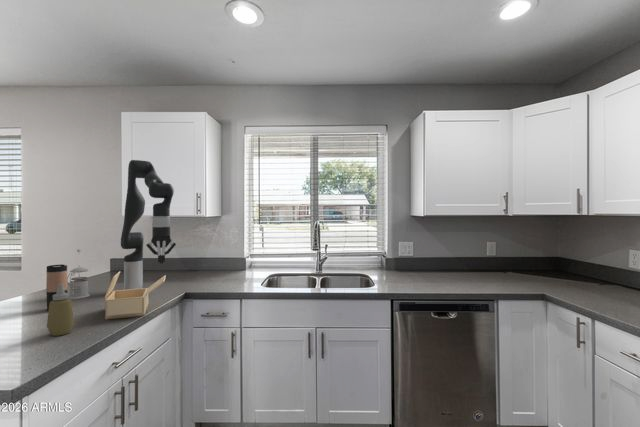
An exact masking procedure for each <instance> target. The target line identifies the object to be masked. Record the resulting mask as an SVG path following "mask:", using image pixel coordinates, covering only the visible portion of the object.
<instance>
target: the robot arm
mask: <svg viewBox="0 0 640 427" xmlns="http://www.w3.org/2000/svg"><path fill="white" fill-rule="evenodd" d="M127 169H128V170H127V189H126V191H127V192H126V198H125V203H124V205H125V206H124V218H123V226H122V230H121V237H120V248H121V249H123V250H133V249H134V251H133V252H132V253H128V254H127V255H125V256H124V257H123V290H129V289H143V288H144V285H143V284H144V280H143V278H144V277H143V276H144V273H143V271H144V270H143V268H144V267H143V266H144V265H143V264H144V262H143V261H144V260H143V259H144V258H143V257H144V234H143V232H140V231H139V232H138V231H137V232H134V231H133V232H132V229H133V227H134V226H135V224H136V223H137V222H138V221H139V220H140V219H141V218H142V216H144V212H145V207H146V200H145V197H144V196H143V194H142V193H141V191H140V189H139V188H138V185H137V179H144V180H143V181H144V184H145V186H146V187H147V188H148V194H149V196H150V197H151V198H154V199H163V201H162V202H158V203H155V204H153V207H152V221H151V222H152V224H151V226H152V227H151V228H152V232H151V233H152V236H151V237H152V238H151V240H150V242H148V243H147V244H146V247H147V248H148V249H149V251H151V252H152V254H153V255H156V256H157V262H158V263H159V264H164V263H165V262H166V255H169V254H170V252H171V251H172V250H173V249H174V248H175V247H176V245H177V243H176V242H174V241H173V240H172V238H171V217H170V215H171V214H170V209H171V204H172V199H173V196H174V193H175V189H174V188H175V187H174V186H173V185H172V184H171V183H168V182H166V183H165V182H164V181H163V179H162V178H161V177H160V176H158V174H157V171H156V169H155V167H154V165H153V164H152V162H150V161H148V160H142V159H141V160H139V159H131V160H130V161H129V163H128V168H127ZM169 245H170V246H169ZM153 246H154V247H155V248H156V250H155V248H154V247H153ZM168 246H169V248H168V249H167V250H166V248H167V247H168Z"/></svg>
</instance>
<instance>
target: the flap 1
mask: <svg viewBox="0 0 640 427" xmlns="http://www.w3.org/2000/svg"><path fill="white" fill-rule="evenodd" d="M120 273H121V271H118V272H117V273H116V274H115V275H114V276H113V277H112V279H111V281H110V284H109V286H108V289H107V291H106V293H105V295H104V299H105V300H106V299H107V298H108V297H109V296H110V294H111V293H112V292H113V291H114V290H115V286H116V283H117V281H118V280H119V277H120Z"/></svg>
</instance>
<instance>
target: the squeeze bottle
mask: <svg viewBox="0 0 640 427" xmlns="http://www.w3.org/2000/svg"><path fill="white" fill-rule="evenodd" d="M68 297H69V293H68V292H67V293H65V291H64V288H63V284H59V285H58V289H57V293H56V294H55V295H53V301H51V302H50V303H49V311H47V313H48V314H47V320H46V328H47V330H48V332H49V334H50V336H53V337H57V336H59V337H60V336H63V335H64V336H65V335H67V334H70V333H71V331H72V328H73V326H74V323H75V317H74V310H73V302H72V299H69V298H68Z"/></svg>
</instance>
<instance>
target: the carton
mask: <svg viewBox="0 0 640 427" xmlns="http://www.w3.org/2000/svg"><path fill="white" fill-rule="evenodd" d="M148 288H149V287H145V288H144V287H143V289H129V290H124V289H120V290H118V289H117V290H113V291H112V292H111V293H110V294H109V295H108V296H107V297H106V299H105V300H104V302H105V303H104V304H105V306H104V310H105V312H104V314H105V316H104V317H105V320H114V319H124V318H136V317H142V316H145V315H146V312H147V309H148V307H149V294H148V295H146V293H147V290H148Z"/></svg>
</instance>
